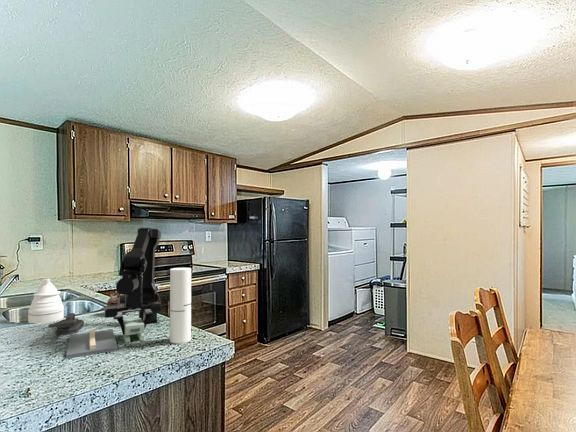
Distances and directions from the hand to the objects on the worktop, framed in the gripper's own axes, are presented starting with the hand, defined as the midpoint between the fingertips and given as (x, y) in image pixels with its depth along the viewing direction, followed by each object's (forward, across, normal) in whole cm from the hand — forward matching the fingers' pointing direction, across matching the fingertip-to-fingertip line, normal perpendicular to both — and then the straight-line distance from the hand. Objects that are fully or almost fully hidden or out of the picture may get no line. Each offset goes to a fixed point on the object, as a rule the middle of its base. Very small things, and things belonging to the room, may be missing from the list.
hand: (133, 333), depth 127 cm
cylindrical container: (+2, -14, +12) cm, 19 cm away
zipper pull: (+2, +21, -19) cm, 29 cm away
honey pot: (+2, +30, -48) cm, 57 cm away
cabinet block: (+2, 0, 0) cm, 2 cm away
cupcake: (+2, +2, -43) cm, 43 cm away
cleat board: (+2, +13, 0) cm, 13 cm away
